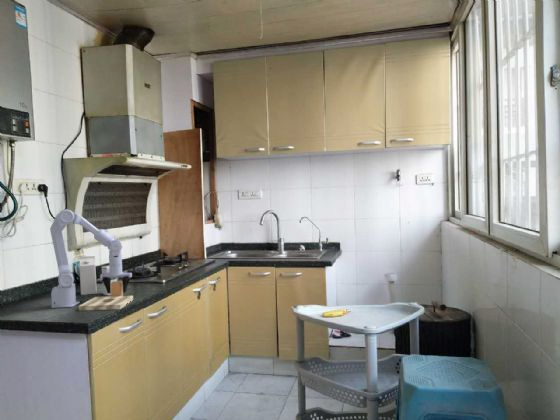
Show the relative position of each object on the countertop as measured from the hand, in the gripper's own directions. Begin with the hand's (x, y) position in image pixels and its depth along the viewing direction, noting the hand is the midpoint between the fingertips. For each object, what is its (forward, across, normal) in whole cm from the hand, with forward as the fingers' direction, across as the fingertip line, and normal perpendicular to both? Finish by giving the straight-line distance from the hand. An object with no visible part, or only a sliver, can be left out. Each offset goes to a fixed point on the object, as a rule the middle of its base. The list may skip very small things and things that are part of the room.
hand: (117, 292), depth 199 cm
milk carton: (+3, +20, -14) cm, 25 cm away
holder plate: (+3, 0, +12) cm, 12 cm away
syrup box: (+3, +7, -10) cm, 13 cm away
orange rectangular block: (+3, 0, 0) cm, 3 cm away
